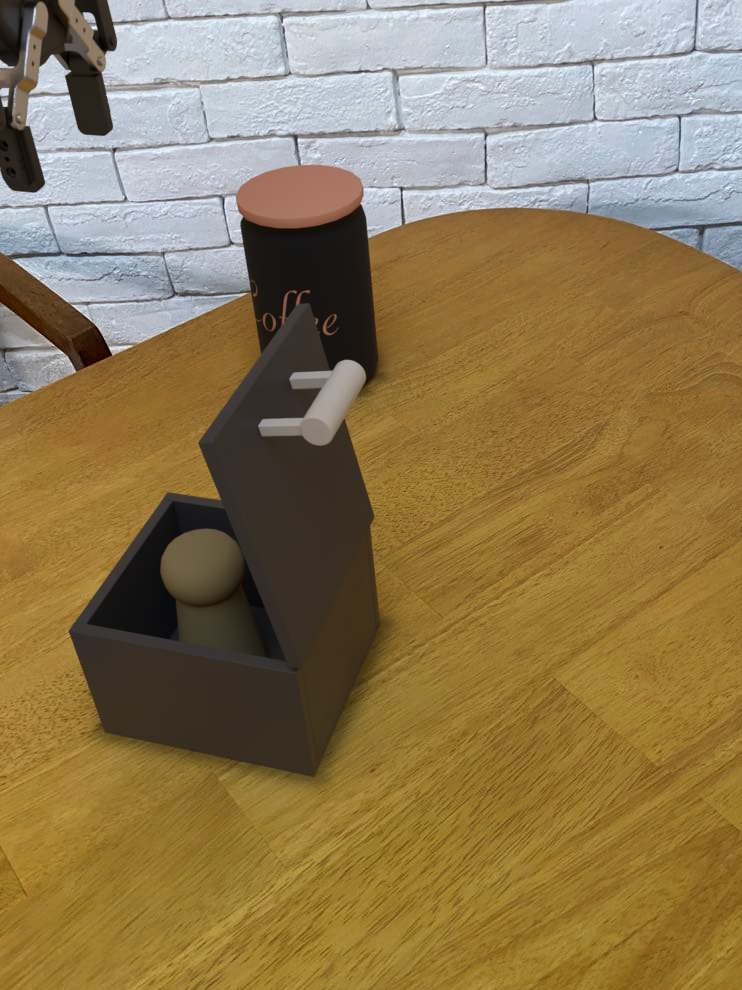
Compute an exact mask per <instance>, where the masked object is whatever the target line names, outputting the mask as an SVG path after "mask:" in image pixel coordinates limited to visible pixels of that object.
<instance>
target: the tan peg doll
mask: <svg viewBox="0 0 742 990" xmlns="http://www.w3.org/2000/svg"><path fill="white" fill-rule="evenodd" d="M244 567H245V562H244V556H243V553H242V551H241V549H240V547H239V546H238V544H237V542H236V541H235V540H233V539H232V538H231V537H230V536H228V535H227V534H226V533H224V532H221V531H219V530H215V529H197V530H193V531H189V532H186V533H184V534H182V535H180V536H178V537H177V538H175V539H174V540H173V541H172V542H171V543H170V544H169V545H168V546H167V548H166V550H165V552H164V554H163V556H162V559H161V571H160V573H161V576H162V580H163V582H164V585H165V587H166V589H167V590H168V592H169V593H170V594H171V595H172V596H173V597H174V598H175V599H176V608H177V620H178V633H179V641H180V642H185V643H191V644H196V645H201V646H207V647H212V648H217V649H223V650H228V651H233V652H239V653H244V654H249V655H255V656H260V657H265V658H270V655H269V653H268V650H267V648H266V645H265V643H264V640H263V638H262V635H261V633H260V630H259V628H258V625H257V623H256V620H255V618H254V615H253V613H252V610H251V608H250V605H249V603H248V600H247V598H246V595H245V593H244V590H243V588H242V585H241V582H242V580H243V578H244Z"/></svg>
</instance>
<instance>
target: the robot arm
mask: <svg viewBox="0 0 742 990" xmlns="http://www.w3.org/2000/svg"><path fill="white" fill-rule="evenodd" d="M84 13H85V14H86V13H88V14H91V15H92V16H93V17H94V21H95V26H96V29H93V28H92V26H91V25H90V24H89V22H88V21H87V20H86V18H85V16H84ZM117 47H118V38H117V33H116V29H115V25H114V22H113V17H112V13H111V9H110V6H109V0H0V62H2V63H3V64H5V65H7V67H0V91H1V90H2V89H8V95H7V96H8V97H7V106H4V104H3V100H2V96H1V95H0V175H1V177H2V180H3V181H4V183H5V184H6V186H7V187H8V189H10V190H11V191H13V192H21V193H32V194H33V193H34V194H35V193H38V192H39V191H40V190H41V189H43V188H44V187H45V185H46V180H45V177H44V173H43V169H42V165H41V162H40V157H39V155H38V151H37V147H36V144H35V139H34V135H33V133H32V129H31V126H30V125H27V121H28V120H27V118H28V111H29V110H28V109H29V99H30V93H31V91H33V90H35V89H36V88H37V86H38V84H39V76H40V67H42V66H43V65H45V64H46V63H47V62H48V60H49V59H50V57H51V56H53V57H54V58H55V59H56V60H57V61H58V63H59V64H60V65H61V66H62V68H63V69H64V70H66V71H69V72H67V74H65V75H64V79H65V82H66V87H67V90H68V91H67V92H68V94H69V98H70V102H71V106H72V112H73V115H74V120H75V122H76V127H77V129H78V130H77V131H78V132H80V133H81V134H82V135H84V136H97V137H105V136H107V135H108V134H109V133H111V132H112V131H113V129H114V124H113V119H112V113H111V108H110V103H109V98H108V94H107V90H106V85H105V81H104V76H103V72H105V70H106V67H107V59H106V55H107V53H108V52H115V51H116V49H117ZM9 67H10V68H9Z"/></svg>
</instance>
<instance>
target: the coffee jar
mask: <svg viewBox="0 0 742 990" xmlns="http://www.w3.org/2000/svg"><path fill="white" fill-rule="evenodd" d="M364 190H365V189H364V185H363V183H362V180H361V178H360V177H359V176H357V175H356V174H355V173H354V172H352V171H349V170H347V169H344V168H341V167H339V166H332V165H326V164H325V165H324V164H298V165H290V166H282V167H280V168H276V169H275V168H274V169H271V170H267V171H265V172H262V173H259V174H258V175H255V176H253V177H251V178H250V179H249V180H247V181H246V182H244V183H243V184H242V185H240V186H239V189H238V190H237V192H236V194H235V202H236V207H237V210H238V213H239V214H240V215H241V216H242V218H241V220H240V222H239V226H240V232H241V239H242V246H243V251H244V258H245V264H246V271H247V276H248V282H249V288H250V295H251V300H252V307H253V314H254V318H255V325H256V331H257V337H258V343H259V350H260V355H261V354H262V353H263V351H264V350H265V349H266V347H267V346H268V344H269V343H270V342H271V340H272V339H273V337H274V336H275V335H276V333H277V332H278V331H279V329H280V328H281V326H282V325H283V324H284V322H285V321H286V319H287V318H288V317H289V315H290V314H291V312H292V311H293V310H294V308H295V307H296V305H297V304H306V303H309V304H310V307H311V310H312V313H313V317H314V320H315V323H316V326H317V330H318V333H319V336H320V339H321V343H322V346H323V349H324V353H325V356H326V359H327V362H328V366H329V369H330V371H333V369H334V368H335V366H336V365H337V364H338V363H339V362H340V361H343V360H352V361H355V362H357V363H358V364H359V365H361V366H362V368H363V369H364V371H365V374H366V381H365V383H364V385H363V387H364V386H365V385H366V384H367V383H368V381H369V380H371V378H372V377H373V375H375V373H376V369H377V366H378V362H379V354H378V353H379V352H378V351H379V350H378V340H377V328H376V327H377V326H376V317H375V305H374V292H373V282H372V269H371V257H370V246H369V245H370V243H369V232H368V223H367V215H366V212H365V210H364V207H363V205H362V201H363V198H364V192H365V191H364Z"/></svg>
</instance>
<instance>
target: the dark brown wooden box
mask: <svg viewBox="0 0 742 990" xmlns="http://www.w3.org/2000/svg"><path fill="white" fill-rule="evenodd" d="M197 529H215V530H219V531H221V532H224V533H226V534H227V535H228V536H230V537H231V538H232V539H233V540H235V541H236V542H237V544H238V546H239V547H240V545H239V543H238V540H237V538H236V535H235V533H234V530H233V528H232V525H231V523H230V520H229V518H228V516H227V513H226V511H225V508H224V506H223V503H222V501H221V499H217V498H210V497H209V498H208V497H202V496H197V495H196V496H195V495H189V494H183V493H177V492H169V491H168V492H166V493H165V495H164V496H163V498H162V499H161V500H160V502H159V503H158V505H157V506H156V508H155V509H154V510H153V512H152V513H151V514H150V515H149V517H148V519H147V521H146V522H145V523H144V525H143V526H142V527H141V528H140V530H139V531H138V533H136V536H135V537H134V539H133V540H132V542H130V543H129V546H127V548H126V550H125V551H124V552H123V554H122V555H121V557H120V558H119V559H118V561H117V562H116V564H115V565H114V566H113V568H112V569H111V570H110V572H109V573H108V575H107V577H106V578H105V579H104V581H103V582H102V584H101V585H100V586H99V588H98V589H97V590H96V592H95V593H94V595H93V596H92V597H91V598H90V600H89V602H88V603H87V604H86V605H85V607H84V609H83V610H82V611H81V613H79V615H78V617H77V618H76V619H75V621H74V622H73V623H72V625H71V626H70V628H69V629H68V634H69V636H70V639H71V643H72V644H73V649H74V650H75V652H76V657H77V658H78V662H79V664H80V667H81V670H82V672H83V675H84V679H85V681H86V684H87V687H88V689H89V692H90V695H91V697H92V701H93V703H94V706H95V709H96V713H97V714H98V717H99V720H100V724H101V726H102V728H103V731H104V733H105V734H110V735H114V736H120V737H124V738H128V739H132V740H139V741H142V742H147V743H153V744H157V745H162V746H166V747H171V748H175V749H179V750H185V751H189V752H194V753H200V754H204V755H209V756H212V757H218V758H223V759H226V760H231V761H237V762H241V763H246V764H250V765H255V766H260V767H264V768H269V769H274V770H279V771H283V772H288V773H292V774H297V775H302V776H307V777H311V778H315V777H316V776H317V772H318V769H319V767H320V765H321V763H322V760H323V758H324V757H325V753H326V751H327V750H328V747H329V744H330V743H331V740H332V737H333V735H334V733H335V731H336V728H337V726H338V724H339V721H340V719H341V717H342V714H343V712H344V710H345V708H346V706H347V703H348V701H349V699H350V696H351V694H352V691H353V689H354V687H355V685H356V682H357V680H358V678H359V676H360V673H361V670H362V668H363V666H364V664H365V662H366V659H367V657H368V654H369V652H370V650H371V648H372V645H373V643H374V641H375V640H376V639H375V638H376V636H377V634H378V632H379V629H380V627H381V620H380V609H379V601H378V600H379V599H378V589H377V581H376V571H375V562H374V561H375V560H374V559H375V558H374V549H373V540H372V530H371V527H370V528H369V530H368V532H367V534H366V536H365V538H364V540H363V542H362V544H361V546H360V548H359V550H358V552H357V554H356V557H355V559H354V561H353V563H352V565H351V567H350V569H349V571H348V573H347V575H346V577H345V579H344V581H343V583H342V585H341V587H340V589H339V591H338V594H337V596H336V598H335V600H334V602H333V604H332V606H331V608H330V610H329V612H328V614H327V616H326V618H325V620H324V622H323V624H322V626H321V628H320V631H319V633H318V635H317V637H316V639H315V641H314V643H313V645H312V647H311V649H310V651H309V653H308V655H307V657H306V659H305V661H304V663H303V665H302V667H301V668H290V667H289V666H288V663H287V661H286V658H285V656H284V653H283V651H282V649H281V646H280V644H279V641H278V639H277V636H276V634H275V631H274V629H273V626H272V624H271V621H270V619H269V617H268V614H267V612H266V609H265V607H264V604H263V602H262V599H261V597H260V594H259V592H258V589H257V587H256V585H255V582H254V580H253V577H252V575H251V572H250V570H249V567H248V565H247V562H246V560H245V557H244V562H245V567H244V578H243V580H242V582H241V585H242V588H243V590H244V593H245V595H246V598H247V600H248V603H249V605H250V608H251V610H252V613H253V615H254V618H255V620H256V623H257V625H258V628H259V630H260V633H261V635H262V638H263V640H264V643H265V645H266V648H267V650H268V653H269V655H270V658H265V657H260V656H255V655H249V654H244V653H239V652H233V651H228V650H223V649H217V648H212V647H207V646H201V645H196V644H191V643H185V642H180V641H179V633H178V620H177V608H176V599H175V598H174V597H173V596H172V595H171V594H170V593H169V592H168V590H167V589H166V587H165V585H164V582H163V580H162V576H161V573H160V571H161V559H162V556H163V554H164V552H165V550H166V548H167V546H168V545H169V544H170V543H171V542H172V541H173V540H174V539H175V538H177V537H178V536H180V535H182V534H184V533H186V532H189V531H193V530H197ZM240 549H241V548H240ZM241 551H242V550H241ZM242 553H243V552H242ZM243 556H244V555H243Z"/></svg>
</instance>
